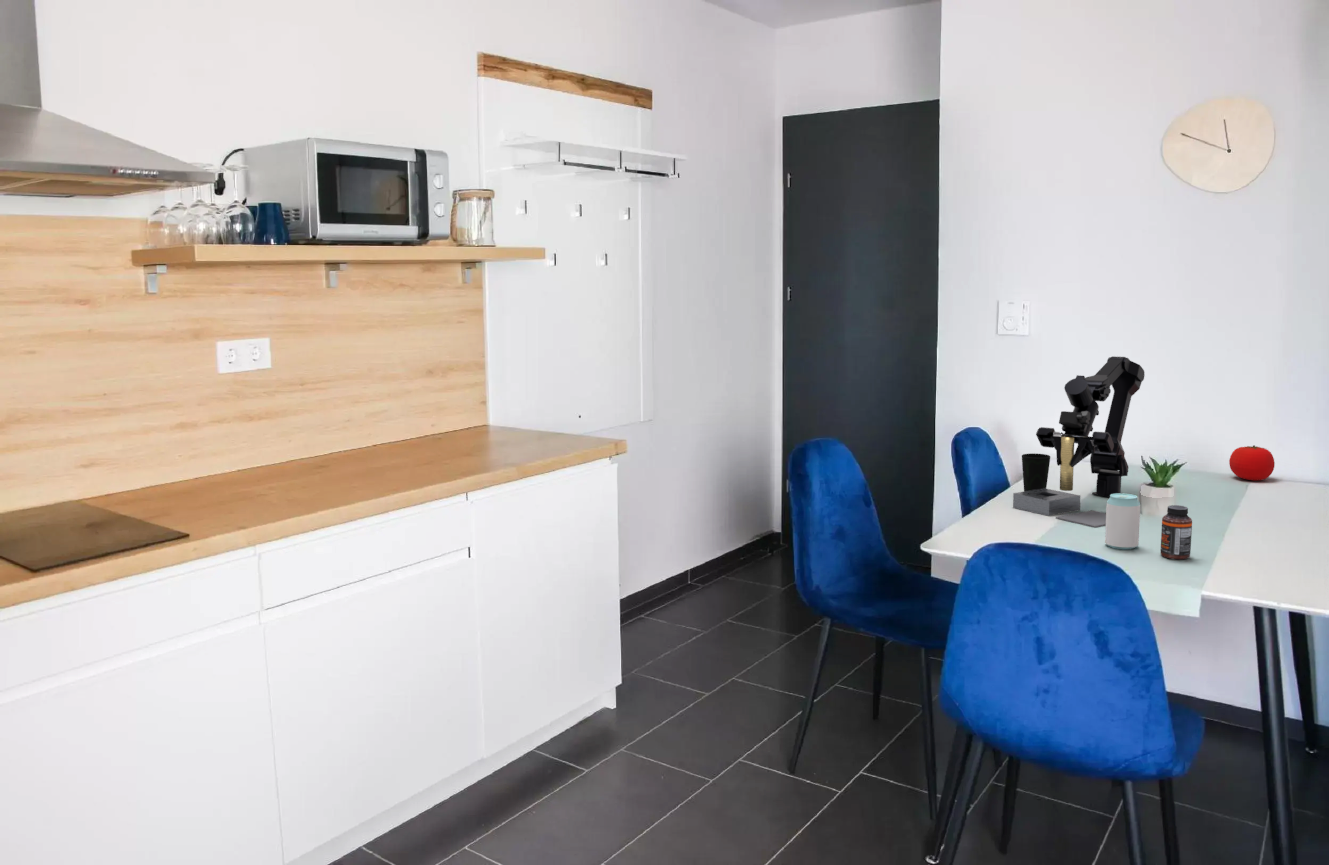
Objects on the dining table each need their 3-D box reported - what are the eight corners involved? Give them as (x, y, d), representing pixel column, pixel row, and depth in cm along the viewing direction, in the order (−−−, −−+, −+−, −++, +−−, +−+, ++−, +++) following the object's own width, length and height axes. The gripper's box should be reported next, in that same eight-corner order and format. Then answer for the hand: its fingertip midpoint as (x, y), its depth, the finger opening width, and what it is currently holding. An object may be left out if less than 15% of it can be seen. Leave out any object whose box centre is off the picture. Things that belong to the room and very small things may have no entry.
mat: (1091, 511, 265) (1091, 510, 265) (1131, 520, 254) (1132, 518, 254) (1055, 518, 258) (1055, 516, 258) (1095, 527, 248) (1095, 526, 248)
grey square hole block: (1043, 502, 278) (1044, 488, 277) (1079, 510, 267) (1080, 495, 266) (1013, 507, 272) (1013, 493, 271) (1048, 515, 261) (1049, 500, 261)
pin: (1067, 487, 264) (1068, 435, 261) (1075, 490, 261) (1077, 437, 258) (1057, 488, 263) (1058, 436, 261) (1065, 491, 260) (1066, 438, 258)
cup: (1051, 500, 280) (1052, 458, 278) (1022, 499, 282) (1023, 457, 280) (1046, 494, 287) (1047, 453, 286) (1018, 494, 289) (1019, 453, 287)
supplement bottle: (1154, 553, 223) (1156, 504, 222) (1179, 552, 224) (1182, 503, 222) (1170, 560, 217) (1172, 510, 216) (1196, 559, 218) (1198, 509, 216)
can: (1141, 550, 226) (1144, 499, 224) (1108, 549, 227) (1110, 498, 226) (1134, 543, 233) (1136, 492, 231) (1101, 542, 234) (1103, 492, 233)
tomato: (1282, 483, 296) (1284, 448, 294) (1242, 483, 296) (1244, 449, 294) (1258, 475, 307) (1260, 442, 306) (1220, 476, 308) (1222, 442, 306)
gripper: (1039, 397, 267) (1021, 443, 261) (1111, 401, 255) (1093, 450, 248) (1051, 422, 274) (1033, 468, 268) (1121, 428, 261) (1104, 476, 255)
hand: (1064, 465), depth 260 cm, fingers closed on pin, 3 cm apart
